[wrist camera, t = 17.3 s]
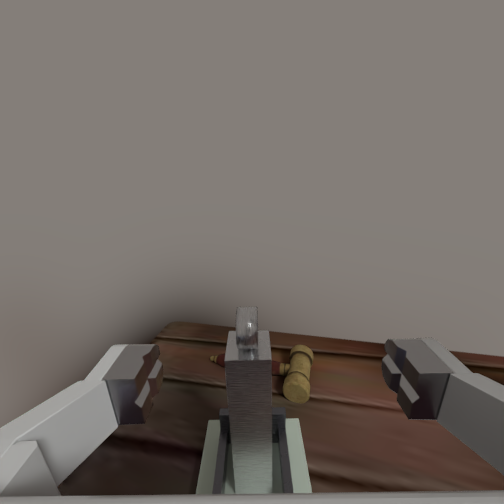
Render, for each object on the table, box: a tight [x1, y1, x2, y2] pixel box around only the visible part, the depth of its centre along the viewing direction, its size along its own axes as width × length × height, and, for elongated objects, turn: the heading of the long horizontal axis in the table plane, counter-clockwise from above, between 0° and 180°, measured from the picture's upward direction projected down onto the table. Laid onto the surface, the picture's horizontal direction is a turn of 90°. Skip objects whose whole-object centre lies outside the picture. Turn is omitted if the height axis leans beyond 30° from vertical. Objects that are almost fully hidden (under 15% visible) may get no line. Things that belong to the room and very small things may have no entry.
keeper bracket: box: [196, 407, 312, 494], centre depth 31 cm, size 14×14×7 cm
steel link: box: [224, 307, 272, 494], centre depth 27 cm, size 4×4×24 cm
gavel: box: [210, 345, 313, 403], centre depth 49 cm, size 21×5×10 cm
